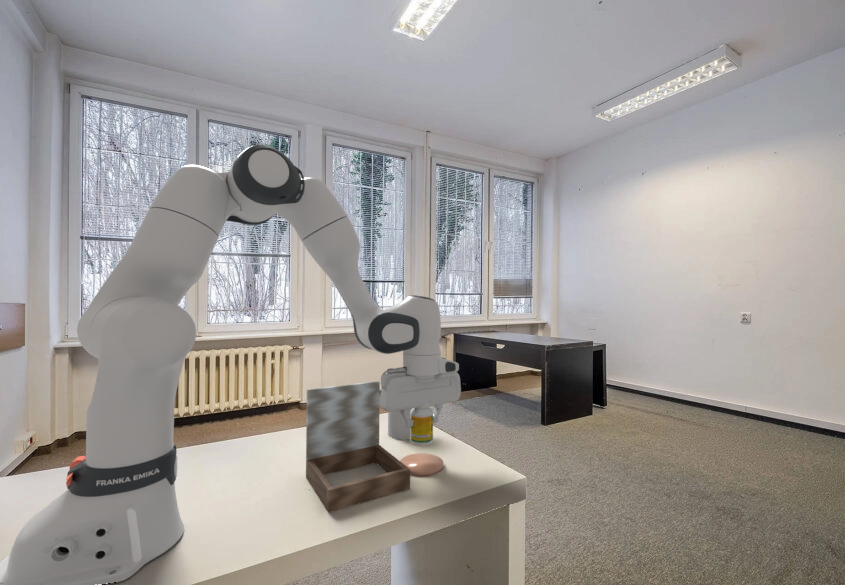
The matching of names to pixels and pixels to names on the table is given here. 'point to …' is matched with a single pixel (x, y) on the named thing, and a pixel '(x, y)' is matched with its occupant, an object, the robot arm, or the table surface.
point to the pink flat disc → (423, 464)
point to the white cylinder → (397, 425)
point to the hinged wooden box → (349, 445)
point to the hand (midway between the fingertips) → (421, 424)
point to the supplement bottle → (422, 425)
